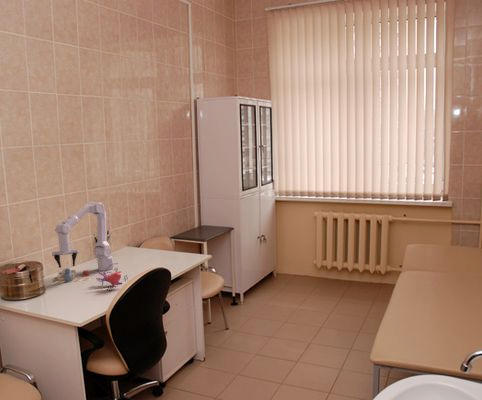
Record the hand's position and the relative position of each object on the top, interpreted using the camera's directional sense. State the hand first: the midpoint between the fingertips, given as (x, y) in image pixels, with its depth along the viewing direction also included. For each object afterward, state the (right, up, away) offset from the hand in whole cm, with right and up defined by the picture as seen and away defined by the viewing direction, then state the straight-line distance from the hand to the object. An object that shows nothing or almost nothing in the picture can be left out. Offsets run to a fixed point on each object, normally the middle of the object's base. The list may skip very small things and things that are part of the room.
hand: (67, 266), depth 278 cm
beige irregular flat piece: (+3, -9, +6) cm, 11 cm away
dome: (-3, -8, +9) cm, 13 cm away
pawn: (0, -9, +1) cm, 9 cm away
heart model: (+28, -11, -12) cm, 33 cm away
